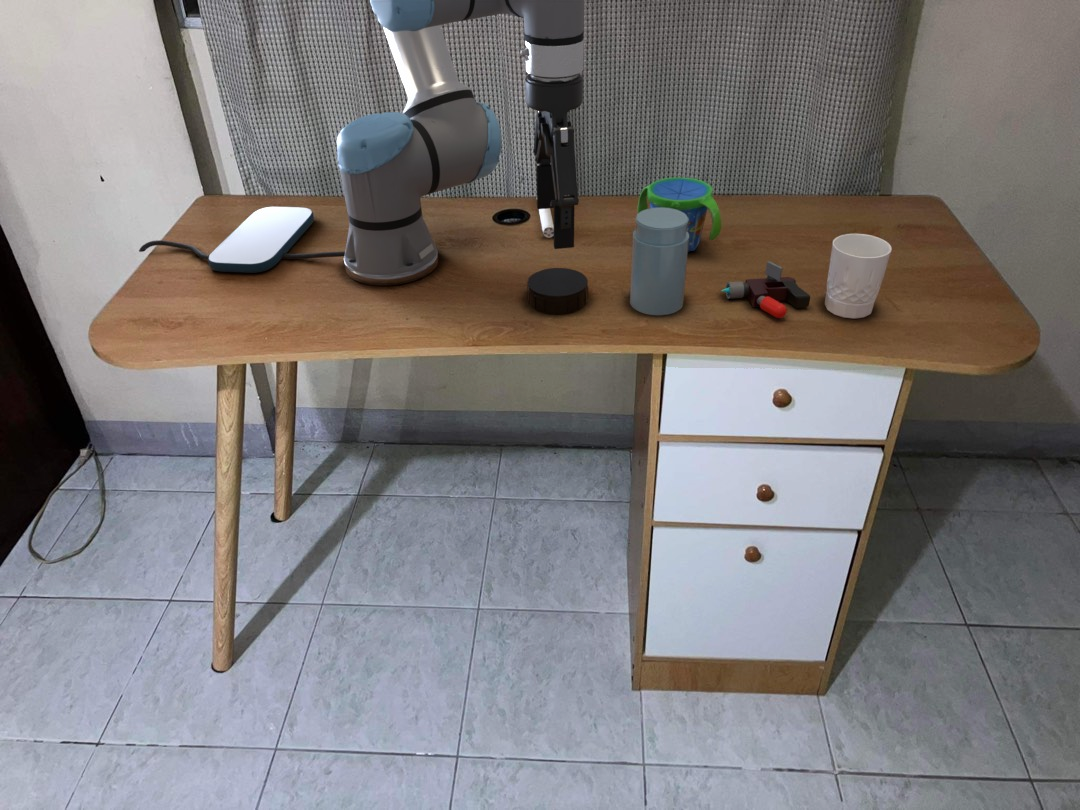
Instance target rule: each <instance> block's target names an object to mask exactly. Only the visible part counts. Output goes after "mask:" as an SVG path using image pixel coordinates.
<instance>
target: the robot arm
mask: <svg viewBox="0 0 1080 810" xmlns="http://www.w3.org/2000/svg"><path fill="white" fill-rule="evenodd" d="M369 2H370V6H371V9H372V11H373V14H374V15H376V17H377V21H378V22H379V24H380V25H381V26H382V28H383V31H384V34H385V37H386V40H387V43H388V46H389V49H390V52H391V54H392V57H393V60H394V63H395V65H396V68H397V71H398V75H399V77H400V80H401V83H402V85H403V89H404V92H405V94H406V96H407V102H406V104H405V107H404V108H403V110H402V112H397V111H385V112H383V113H379V112H376V113H371V114H368V115H364V116H361V117H359V118H357V119H354V120H352V121H351V122H349V123H347V124H346V125H345V126H344V127H342V129H341V130H340V131H339V133H338V135H337V137H336V151H337V152H336V154H337V167H338V169H339V173H340V178H341V179H340V180H341V184H342V190H343V196H344V200H345V207H346V213H347V215H348V216H347V217H348V232H347V237H346V238H347V239H346V245H345V250H342V251H341V250H340V251H325V252H324V251H323V252H309V253H286V254H283V257H282V258H281V260H283V259H284V260H304V259H305V260H306V259H320V258H336V257H337V258H338V257H339V258H340V257H343V261H344V267H345V272H346V274H347V275H348V277H350V278H351V279H352V280H354V281H356V282H359V283H361V284H366V285H370V286H372V285H373V286H395V285H402V284H407V283H412V282H414V281H417V280H420V279H422V278H425V277H426V276H428V275H429V274H431V273H432V272H433V271H434V270H435V269H436V268H437V266H438V264H439V252H438V251H439V250H438V247H437V245H436V243H435V241H434V239H433V236H432V234H431V232H430V230H429V228H428V226H427V224H426V222H425V219H424V218H423V210H422V201H421V198H422V197H424V196H427V195H431V194H434V193H437V192H441V191H444V190H448V189H451V188H455V187H458V186H462V185H465V184H467V185H468V184H472V183H473V182H475V181H477V180H479V179H482V178H485V177H487V176H489V175H490V174H492V173H493V171H495V169H496V167H497V166H498V164H499V161H500V155H501V153H502V132H501V127H500V123H499V120H498V117H497V116H496V114H495V112H494V110H493V109H491V107H490V106H489V105H488V104H487V103H484V102H481V101H476V99H475V95H474V93H473V90H472V88H471V87H469V86H467V85H465V84H463V83H462V82H460V80H459V78H458V75H457V72H456V69H455V66H454V63H453V60H452V57H451V54H450V51H449V48H448V46H447V42H446V39H445V37H444V34H443V31H442V28H441V26H442V25H443V26H444V25H447V24H452V23H458V22H463V21H469V20H475V19H480V18H485V17H492V16H496V15H510V16H513V17H516V18H517V17H518V18H521V19H523V28H524V29H523V30H524V31H523V32H524V33H523V38H524V45H525V47H524V48H521V49H520V50H519V52H520V54H519V55H520V56H521V57H523V58H524V66H525V69H524V70H525V72H526V73H527V76H526V77H524V78H525V79H524V84H525V85H524V86H525V87H524V89H525V103H526V105H527V107H528V108H529V109H532V110H534V111H536V115H535V128H534V139H533V141H534V142H533V149H532V153H533V154H534V156H535V158H534V159H535V163H536V165H535V167H536V208H537V210H539V209H548V208H550V209H553V225H554V235H553V249H554V250H560V249H571V248H575V206H579V203H580V199H579V195H578V194H579V193H578V180H577V169H576V167H577V166H576V155H575V138H574V137H575V135H574V133H575V128H574V126H573V125H572V122H571V120H568V113H569V112H570V111H572V110H577V109H578V108H579V107H581V106H582V104H583V101H584V77H583V76H582V74H581V73H582V72H583V71H584V69H585V67H584V66H585V65H584V64H585V61H584V60H585V38H584V29H585V27H584V25H585V0H369ZM155 246H164V247H165V246H167V247H172V248H177V249H183V250H188V251H191V252H193V253H194V254H196V255H197V256H198V257H200V259H203V260H206V261H208V257H209V255H210V254H206V253H204V252H202V251H201V250H200V249H198V248H197V247H196V246H194V245H191V244H187V243H181V242H175V241H170V240H161V239H160V240H158V239H157V240H151V241H147V242H146V243H144V244H143V245H142V246H140V248H139V250H138V252H139V253H142V252H143V253H144V252H145V251H147V250H148V249H149V248H151V247H155Z"/></svg>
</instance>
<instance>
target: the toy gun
mask: <svg viewBox="0 0 1080 810" xmlns="http://www.w3.org/2000/svg"><path fill="white" fill-rule="evenodd" d="M782 273H783V267H782V266H780V265H778V264H776V263H774V262H772V261H770V260H768V261H766V267H765V275H766V277H765V278H762V277H761V278H748V279H747V278H746V279H745V281H744V282H743V281H742V280H741V281H727V282H726V284H725V288H724V289H722V290H720V291H721V292H725V295H726V298H727V299H728V300H729V299H731V300H732V299H743V298H744V297H746V298H747V299H748V301H749V303H750V304H751V306H752V307H753V309H754V308H758V307H760V309H761V310H763V311H764V312H766V313H768V314H770V315H771V316H773V317H774V318H777V319H782V318H784V317H785V316H786V315H787V311H788V309H787V307H786V305H785V304H783V303H781V302H782V301H787V302H788V303H789V304H791V305H792V306H793V307H795V308H808V307H809V306H810V302H811V295H810V294H809V293H808V292H806V291H805V290H804V289H802V287H800V286H799V285H798V284H797V281H796V279H795V278H793V277H790V276H782V275H783V274H782Z"/></svg>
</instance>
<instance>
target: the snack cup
mask: <svg viewBox="0 0 1080 810" xmlns="http://www.w3.org/2000/svg"><path fill="white" fill-rule="evenodd" d="M713 191H714V190H713V187H712V185H710V184H709V183H708V182H706V181H704V180H702V179H701V180H700V179H698V178H693V177H683V176H681V177H679V176H678V177H677V176H675V177H667V178H666V177H665V178H662V179H658V180H656V181H653V182H652V183H650V184H649V185H647V186H645V187H644V188H642V190H641V192H640V195H639V197H638V202H637V210H636V211H637V214H638V213H639V212H641V211H643V210H646V209H650V208H671V209H676V210H679V211H681V212H683V213H685V214H686V215H687V217H688V218H689V219H688V223H687V232H688V233H689V244H688V253H689V252H694V251H695V250H696V249H697V247H698V246H699V244H700V243H701V242H700V241H701V238H702V235H703V230H704V226H705V221H706V217H707V212H708V210H709V213H710V216H711V224H712V226H711V229H710V232H709V241H712V240H714V239H715V240H716V238H717V237H719V235H720V233H721V231H722V230H721V229H722V219H721V218H722V217H721V212H720V207H719V205H718V204H717V201H716V200H715V198H714V197H713ZM648 202H649V206H648Z"/></svg>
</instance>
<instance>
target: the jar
mask: <svg viewBox="0 0 1080 810" xmlns="http://www.w3.org/2000/svg"><path fill="white" fill-rule="evenodd" d="M688 219H689V218H688V217H687V215H686V214H685V213H683V212H681V211H679V210H676V209H671V208H650V207H649V208H648V209H646V210H643V211H641V212H639V213H638V212H637V214H636V216H635V229H634V231H633V232H632V246H631V266H630V267H631V268H630V292H629V304H630V306H631V307H632V308H633V309H634V310H635V311H637V312H639V313H641V314H645V315H648V316H649V315H650V316H667V315H671V314H674V313H676V312H678V311H680V310H681V309H682V308H683V306H684V301H685V291H686V290H685V288H686V278H687V267H688V257H689V256H688V255H689V252H688V244H689V233H688V232H687V223H688Z"/></svg>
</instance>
